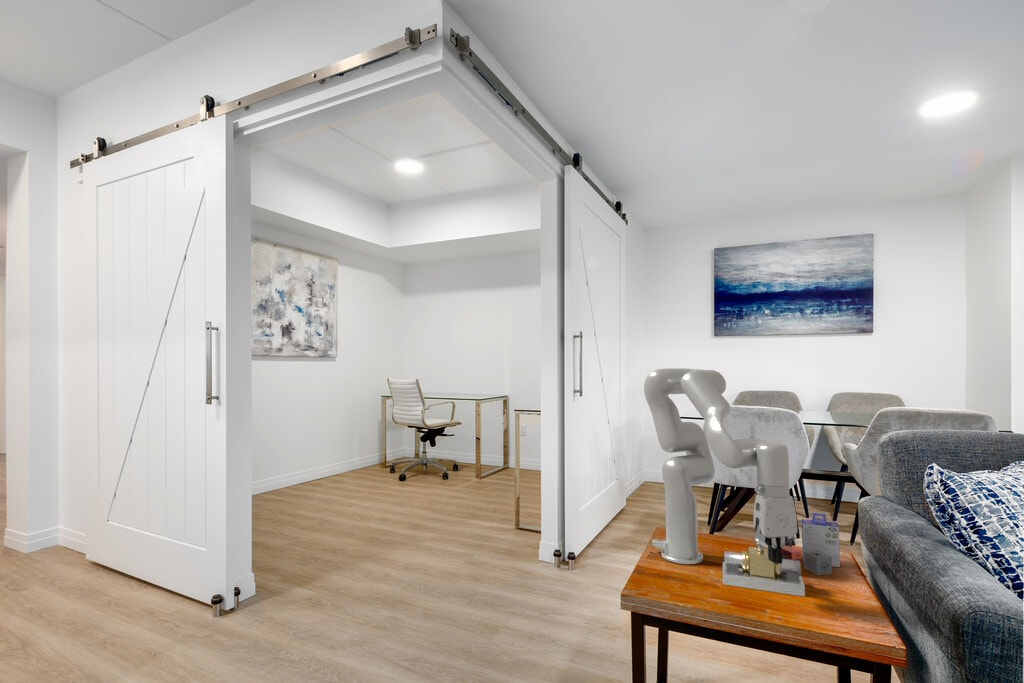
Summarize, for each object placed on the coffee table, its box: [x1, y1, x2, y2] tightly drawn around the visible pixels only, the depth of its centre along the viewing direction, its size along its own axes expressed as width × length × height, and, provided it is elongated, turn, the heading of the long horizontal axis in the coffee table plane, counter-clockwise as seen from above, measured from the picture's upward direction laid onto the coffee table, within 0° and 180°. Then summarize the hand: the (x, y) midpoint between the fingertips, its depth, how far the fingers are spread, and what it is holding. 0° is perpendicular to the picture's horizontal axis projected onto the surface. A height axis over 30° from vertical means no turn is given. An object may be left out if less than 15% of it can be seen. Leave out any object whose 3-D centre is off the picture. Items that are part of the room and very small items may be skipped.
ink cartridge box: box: [801, 512, 841, 568], centre depth 159 cm, size 10×6×14 cm, turn 65°
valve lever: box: [754, 537, 802, 560], centre depth 139 cm, size 14×3×2 cm, turn 18°
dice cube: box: [803, 551, 833, 576], centre depth 152 cm, size 5×5×5 cm
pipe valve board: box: [722, 544, 806, 597], centre depth 144 cm, size 20×9×11 cm, turn 68°
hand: (775, 561), depth 134 cm, fingers closed
